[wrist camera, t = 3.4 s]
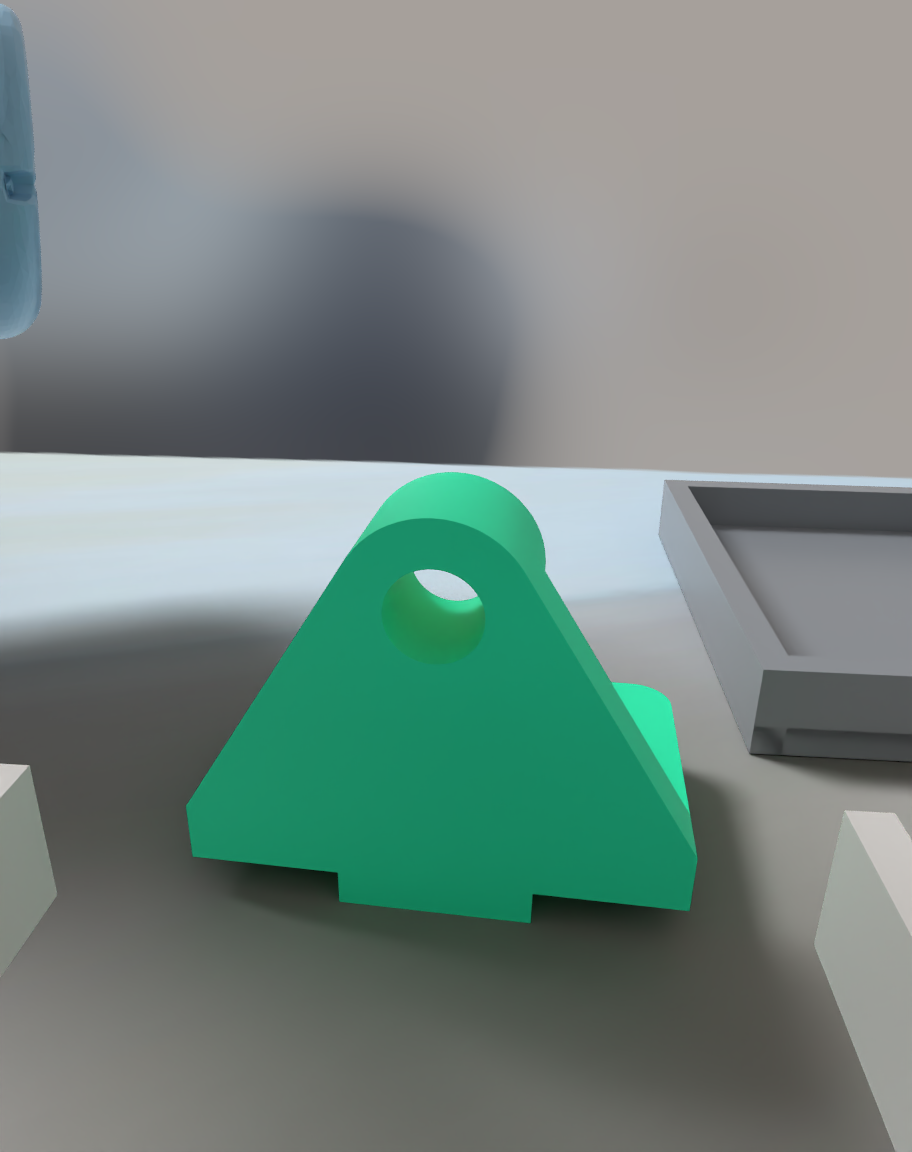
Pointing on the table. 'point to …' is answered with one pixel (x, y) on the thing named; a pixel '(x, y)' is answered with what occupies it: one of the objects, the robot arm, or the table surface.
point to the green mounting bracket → (453, 733)
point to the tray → (801, 610)
